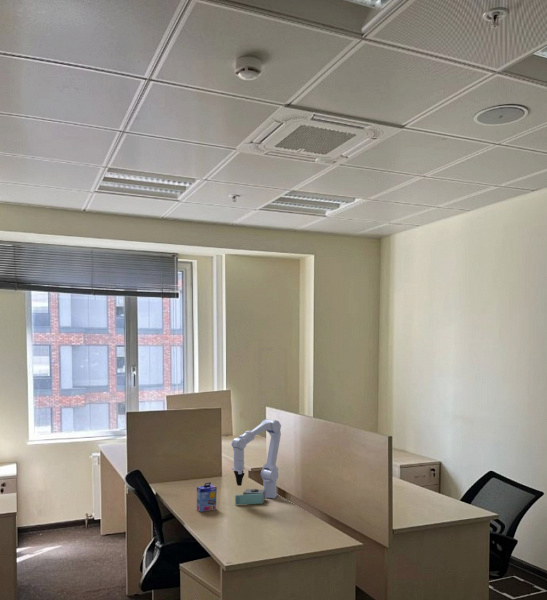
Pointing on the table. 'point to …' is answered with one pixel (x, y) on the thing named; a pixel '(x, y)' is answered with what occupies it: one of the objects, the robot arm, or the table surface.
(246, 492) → the block
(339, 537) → the table surface
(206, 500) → the ink cartridge box
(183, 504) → the table surface
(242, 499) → the door
